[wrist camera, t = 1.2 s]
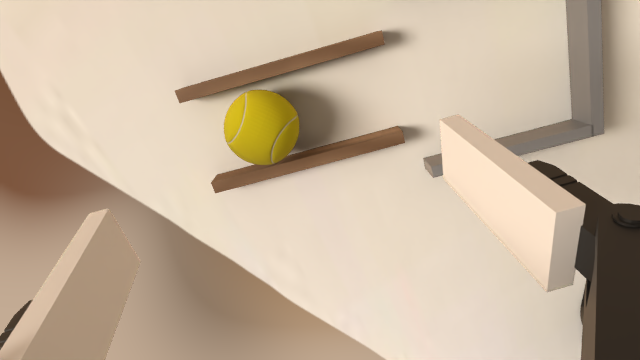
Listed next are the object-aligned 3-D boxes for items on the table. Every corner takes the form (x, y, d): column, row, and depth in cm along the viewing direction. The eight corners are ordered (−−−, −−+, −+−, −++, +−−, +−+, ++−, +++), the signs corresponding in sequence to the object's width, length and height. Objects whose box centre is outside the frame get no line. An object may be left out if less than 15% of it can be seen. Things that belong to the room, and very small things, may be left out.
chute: (399, 136, 41) (404, 142, 39) (220, 184, 43) (215, 193, 40) (377, 31, 37) (381, 30, 35) (183, 87, 39) (174, 90, 37)
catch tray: (584, 127, 41) (604, 133, 38) (425, 168, 42) (433, 177, 39) (575, -79, 35) (599, -89, 32) (388, -22, 36) (395, -28, 33)
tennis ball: (311, 104, 40) (310, 117, 33) (284, 163, 42) (278, 186, 35) (247, 74, 39) (233, 81, 32) (222, 136, 41) (205, 155, 34)
